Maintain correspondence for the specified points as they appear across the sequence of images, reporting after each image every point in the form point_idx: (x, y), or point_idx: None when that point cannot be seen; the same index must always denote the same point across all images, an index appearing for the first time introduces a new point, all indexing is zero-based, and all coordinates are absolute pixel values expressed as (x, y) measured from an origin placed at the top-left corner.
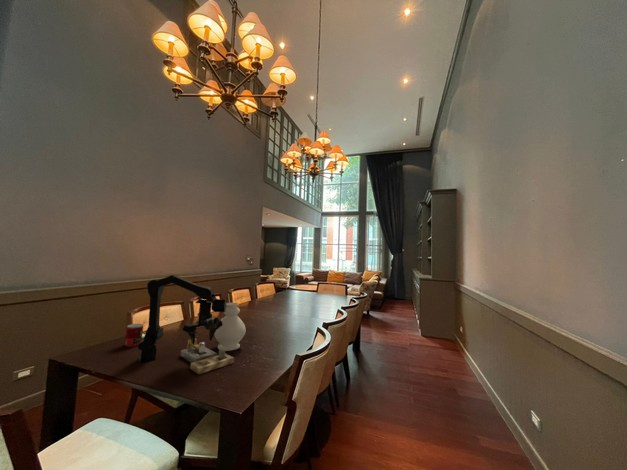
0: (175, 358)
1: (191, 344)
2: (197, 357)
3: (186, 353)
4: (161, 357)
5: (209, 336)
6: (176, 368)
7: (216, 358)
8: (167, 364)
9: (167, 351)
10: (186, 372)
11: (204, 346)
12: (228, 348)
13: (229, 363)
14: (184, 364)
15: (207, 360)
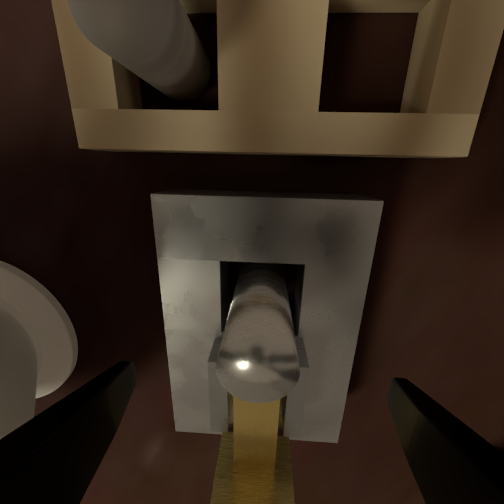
0: (369, 393)
1: (273, 459)
2: (352, 225)
3: (350, 371)
4: None
5: (107, 445)
6: (482, 246)
7: (200, 112)
8: (464, 347)
9: (335, 494)
10: (500, 111)
11: (244, 311)
12: (9, 288)
13: None
14: (399, 271)
15: (314, 96)
